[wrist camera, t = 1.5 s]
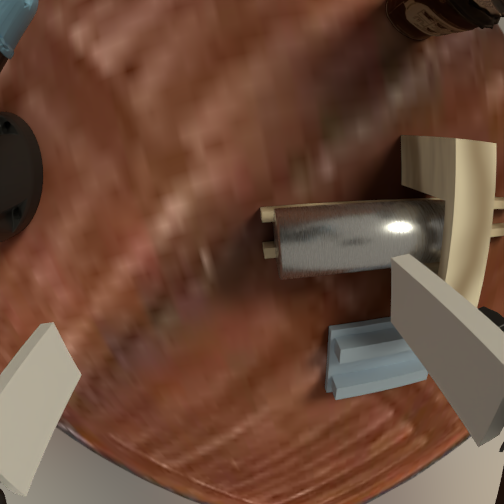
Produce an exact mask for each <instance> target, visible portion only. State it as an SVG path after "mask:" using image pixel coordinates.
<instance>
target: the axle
mask: <svg viewBox="0 0 504 504" xmlns="http://www.w3.org/2000/svg"><path fill="white" fill-rule="evenodd" d="M444 217H445V200H416V201H389V202H368V203H349V204H332V205H316V206H301V207H287V208H275V209H274V213H273V230H274V245H275V255H276V262H277V269H278V274H279V277H280V279H281V280H283V279H294V278H304V277H314V276H323V275H333V274H342V273H351V272H360V271H369V270H377V269H386V268H391V258H393V257H397V256H401V255H405V254H410V255H412V256H413V257H414V258H416V259H417V260H418V261H419V262H421V263H422V264H426V263H434V262H440V256H441V248H442V239H443V229H444Z"/></svg>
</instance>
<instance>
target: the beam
mask: <svg viewBox="0 0 504 504" xmlns="http://www.w3.org/2000/svg"><path fill="white" fill-rule="evenodd" d="M401 163H402V184H401V185H403V186H406V187H409V188H412V189H415V190H417V191H420V192H423V193H426V194H429V195H431V196H434V197H437V198H415V199H387V200H365V201H346V202H328V203H312V204H298V205H284V206H271V207H260V214H261V220H262V223H264V222H273V213H274V209H275V208H287V207H301V206H316V205H332V204H349V203H368V202H389V201H416V200H445V217H444V229H443V239H442V248H441V256H440V262H434V263H426V264H423V265H425V266H426V267H427V268H428V269H430V270H431V271H432V272H434V273H435V274H436V275H437V276H439V277H440V278H441V279H442V280H444V281H445V282H446V283H447V284H448V285H450V286H451V287H452V288H453V289H455V290H456V291H457V292H458V293H459V294H461V295H462V296H463V297H464V298H465V299H467V300H468V301H469V302H470V303H471V304H472V305H474V306H475V307H476V308H477V305H478V301H479V297H480V293H481V288H482V283H483V278H484V273H485V268H486V262H487V257H488V250H489V244H490V237H496V236H504V223H498V224H492V220H493V210H494V209H504V197H495V182H496V143H489V142H482V141H474V140H465V139H456V138H444V137H428V136H407V135H401ZM263 253H264V257H265V259H266V258H276V255H275V245H274V241H268V242H263Z"/></svg>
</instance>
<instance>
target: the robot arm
mask: <svg viewBox="0 0 504 504" xmlns="http://www.w3.org/2000/svg"><path fill="white" fill-rule="evenodd" d="M37 8H38V0H0V72H1V71H2V69H3V67H4V65H5V64H6V62H7V60H8V58H9V59H11V58H12V57H13V55H14V49H15V47H16V45H17V43H18V42H19V40H20V38H21V37H22V35H23V33H24V32H25V30H26V28H27V27H28V25H29V24H30V22H31V21H32V19H33V17H34V15H35V14H36V11H37ZM42 184H43V166H42V158H41V153H40V149H39V146H38V143H37V140H36V138H35V135H34V134H33V132H32V130H31V129H30V127H29V126H28V124H27V123H26V122H25V121H24V120H23V119H22V118H20V117H19V116H17V115H15V114H13V113H9V112H0V242H2V241H5V240H7V239H9V238H11V237H12V236H14V235H16V234H18V233H19V232H21V231H22V230H23V229H24V228H25V227H26V226H27V225H28V224H29V222H30V221H31V219H32V218H33V216H34V214H35V212H36V210H37V207H38V204H39V201H40V197H41V191H42ZM391 323H392V324H393V325H394V327H395V328H396V329H397V331H398V332H399V333H400V335H401V336H402V337H403V339H404V340H405V341H406V343H407V344H408V345H409V347H410V348H411V349H412V351H413V352H414V354H415V355H416V356H417V358H418V359H419V360H420V362H421V363H422V364H423V366H424V367H425V369H426V370H427V371H428V373H429V374H430V376H431V377H432V378H433V380H434V381H435V383H436V384H437V386H438V387H439V388H440V390H441V391H442V393H443V394H444V396H445V397H446V399H447V400H448V402H449V403H450V404H451V406H452V407H453V409H454V410H455V412H456V413H457V415H458V416H459V418H460V419H461V421H462V422H463V424H464V425H465V427H466V428H467V430H468V432H469V433H470V435H471V436H472V438H473V439H474V441H475V442H476V444H477V446H478V447H479V446H481V445H483V444H485V443H486V442H488V441H490V440H491V439H493V438H495V437H496V436H498V435H499V434H500V432H501V431H502V428H503V427H504V318H503V317H502V316H501V315H500V314H499V313H497V312H495V311H493V310H490V309H488V308H486V307H481V308H479V309H477V308H476V307H475V306H474V305H472V304H471V303H470V302H469V301H468V300H467V299H465V298H464V297H463V296H462V295H461V294H459V293H458V292H457V291H456V290H455V289H453V288H452V287H451V286H450V285H448V284H447V283H446V282H445V281H444V280H442V279H441V278H440V277H439V276H437V275H436V274H435V273H434V272H432V271H431V270H430V269H428V268H427V267H426V266H425V265H423V264H422V263H421V262H419V261H418V260H417V259H416V258H414V257H413V256H412V255H410V254H405V255H401V256H397V257H393V258H391ZM80 377H81V373H80V371H79V370H78V368H77V366H76V364H75V363H74V361H73V359H72V357H71V355H70V353H69V352H68V350H67V348H66V346H65V344H64V342H63V340H62V338H61V336H60V334H59V332H58V330H57V328H56V326H55V324H54V322H52V323H45V324H40V325H39V327H38V328H37V329H36V330H35V331H34V333H33V334H32V335H31V336H30V338H29V339H28V340H27V341H26V342H25V344H24V345H23V346H22V347H21V349H20V350H19V351H18V353H17V354H16V355H15V356H14V358H13V359H12V360H11V362H10V363H9V364H8V365H7V367H6V368H5V369H4V371H3V372H2V373H1V375H0V482H1V483H2V484H3V485H4V486H5V487H6V488H8V489H9V490H10V491H11V492H13V493H16V494H19V495H22V496H27V493H28V491H29V488H30V486H31V483H32V481H33V478H34V476H35V473H36V471H37V468H38V466H39V464H40V461H41V459H42V457H43V454H44V452H45V450H46V447H47V445H48V443H49V441H50V438H51V436H52V434H53V432H54V430H55V428H56V425H57V423H58V421H59V419H60V417H61V415H62V413H63V411H64V409H65V407H66V405H67V403H68V401H69V398H70V396H71V394H72V392H73V391H74V389H75V387H76V385H77V383H78V381H79V379H80ZM503 450H504V442H503V444H502V446H501V448H500V451H499V452H503ZM0 504H7V503H6V499H5V495H4V493H3V491H2V490H1V489H0ZM495 504H504V467H503V472H502V477H501V482H500V486H499V491H498V495H497V499H496V503H495Z"/></svg>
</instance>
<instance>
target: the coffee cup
mask: <svg viewBox="0 0 504 504" xmlns="http://www.w3.org/2000/svg"><path fill="white" fill-rule="evenodd" d="M386 12H387V16H388V18H389V19H390V21H391V23H392V24H393V25H394V27H395V28H396V29H397V30H398V31H400V32H401V33H402V34H404V35H406V36H408V37H410V38H412V39H417V40H422V39H426V38H428V37H430V36H442V35H446V34H451V33H458V32H464V31H468V30H473V29H474V28H477V27H480V28H481V29H483V28H484V27H485V28H491V29H493V25H494V24H498V22H499V20H500V17H504V0H388V1H387V4H386Z"/></svg>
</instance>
